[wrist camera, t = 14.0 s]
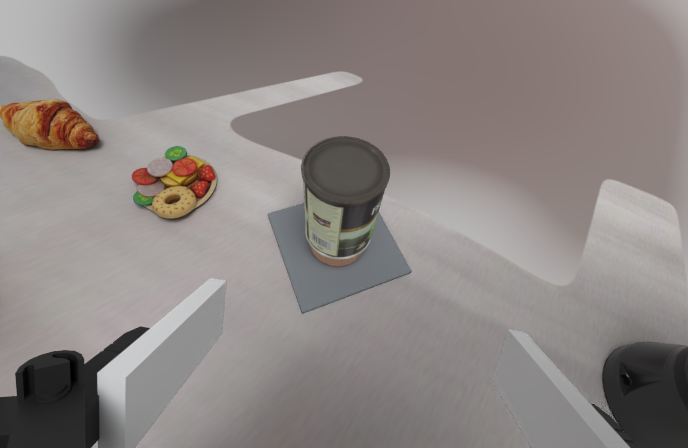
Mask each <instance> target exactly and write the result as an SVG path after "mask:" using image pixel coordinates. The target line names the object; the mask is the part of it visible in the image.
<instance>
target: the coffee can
mask: <svg viewBox="0 0 688 448" xmlns="http://www.w3.org/2000/svg"><path fill="white" fill-rule="evenodd" d="M301 171H302V178H303V185H304V205H305V224H306V225H305V234H306V238H307V240H308V242H309V244H310V245H311V247H312V248H313V249H314V250H315V251H316V252H318V253H319V254H321V255H323V256H325V257H327V258H331V259H336V260H339V259H342V260H343V259H349V258H352V257H355V256H357V255H359V254H360V253H362V252H363V251H364V250H365V249H366V248H367V246H368V245H369V243H370V241H371V238H372V232H373V229H374V225H375V222H376V218H377V215H378V211H379V208H380V204H381V201H382V198H383V194H384V191H385V188H386V186H387V184H388V181H389V178H390V168H389V164H388V161H387V159H386V157H385V156H384V154H383V153H382V152H381V151H380V150H379V149H378V148H377V147H375V146H374V145H372V144H370V143H369V142H367V141H364V140H362V139H359V138H354V137H347V136H339V137H331V138H327V139H324V140H322V141H320V142H318V143H317V144H315V145H313V146H312V147H311V148H310V149H309V150H308V151H307V152H306V154H305V156H304V158H303V160H302V165H301Z"/></svg>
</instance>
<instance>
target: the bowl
mask: <svg viewBox="0 0 688 448" xmlns="http://www.w3.org/2000/svg"><path fill="white" fill-rule="evenodd" d="M310 249H311V251H312V253H313V255H314V256H315V257H316V258H317V259H318V260H319V261H320V262H322V263H324V264H326V265H328V266H332V267H343V266H347V265H350V264H352V263H354V262H355V261H356V260H358V258H359V257H360V256H361V255H362V253H363V252H362V253H360V254H359V255H357V256H355V257H352V258H349V259H343V260H342V259H339V260H336V259H331V258H327V257H325V256H323V255H321V254H319V253H318V252H316V251H315V250H314V249H313V248H312V247H311V245H310Z"/></svg>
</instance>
